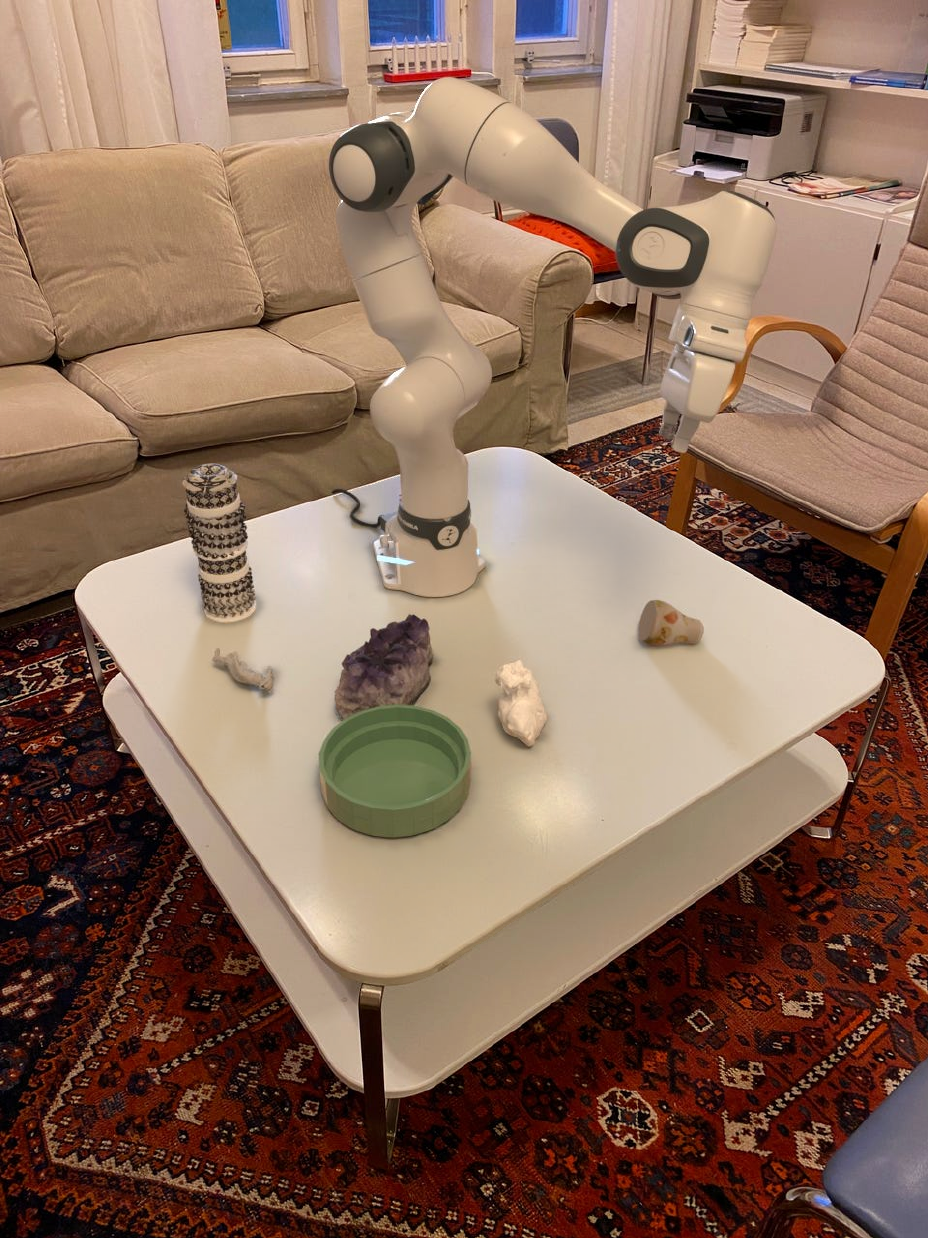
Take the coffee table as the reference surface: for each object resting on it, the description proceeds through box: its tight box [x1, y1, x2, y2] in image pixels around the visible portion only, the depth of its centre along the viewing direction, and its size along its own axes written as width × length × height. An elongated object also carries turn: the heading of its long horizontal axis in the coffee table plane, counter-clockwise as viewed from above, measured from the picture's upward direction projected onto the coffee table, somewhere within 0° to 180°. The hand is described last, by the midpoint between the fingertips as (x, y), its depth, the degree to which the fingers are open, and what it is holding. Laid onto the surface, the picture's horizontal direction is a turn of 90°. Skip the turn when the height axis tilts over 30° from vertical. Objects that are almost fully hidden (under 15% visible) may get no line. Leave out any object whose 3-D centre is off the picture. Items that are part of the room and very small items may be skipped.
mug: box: [638, 599, 705, 646], centre depth 149 cm, size 8×10×10 cm
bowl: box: [318, 704, 472, 838], centre depth 122 cm, size 19×19×6 cm
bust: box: [494, 659, 548, 747], centre depth 131 cm, size 12×8×11 cm
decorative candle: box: [181, 463, 257, 624], centre depth 150 cm, size 9×9×25 cm
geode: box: [334, 613, 434, 721], centre depth 137 cm, size 20×12×10 cm, turn 160°
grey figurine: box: [211, 647, 275, 693], centre depth 140 cm, size 8×5×12 cm
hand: (671, 444), depth 122 cm, fingers open, 8 cm apart
